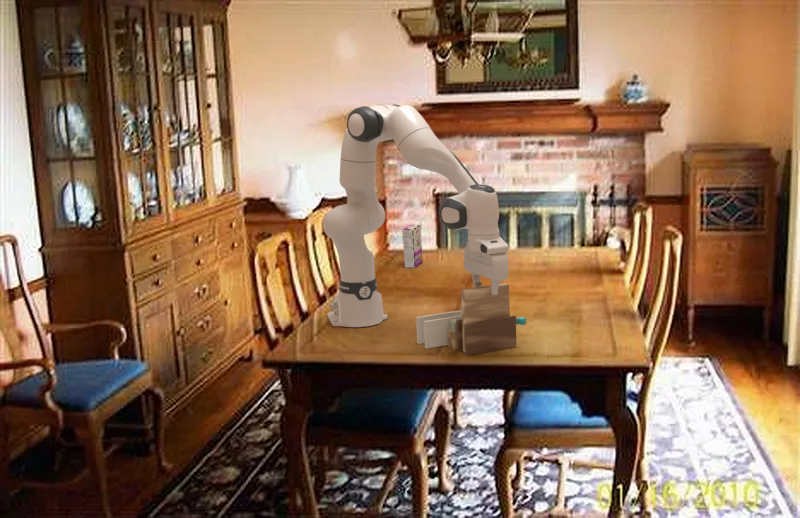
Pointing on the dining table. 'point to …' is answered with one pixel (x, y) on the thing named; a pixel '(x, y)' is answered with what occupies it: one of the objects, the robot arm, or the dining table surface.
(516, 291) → the dining table surface
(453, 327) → the offcut
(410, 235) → the candy bar box
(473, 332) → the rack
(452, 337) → the offcut
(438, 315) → the holder
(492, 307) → the sheet
